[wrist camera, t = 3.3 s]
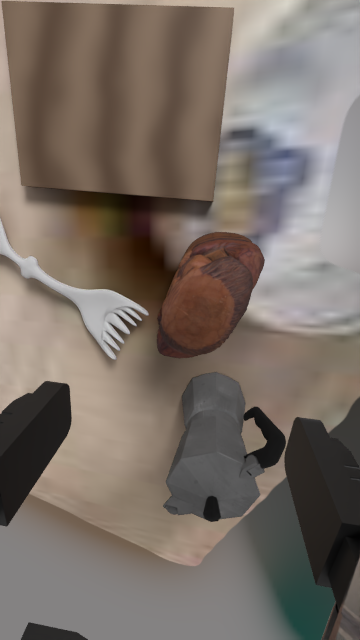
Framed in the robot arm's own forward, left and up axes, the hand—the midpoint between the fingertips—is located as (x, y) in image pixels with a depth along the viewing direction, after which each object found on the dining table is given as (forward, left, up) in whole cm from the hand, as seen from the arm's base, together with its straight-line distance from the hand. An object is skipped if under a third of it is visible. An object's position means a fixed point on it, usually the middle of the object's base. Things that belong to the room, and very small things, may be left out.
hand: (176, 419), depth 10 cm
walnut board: (+11, -16, -28) cm, 34 cm away
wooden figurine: (0, 0, -28) cm, 28 cm away
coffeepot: (-4, +18, -28) cm, 34 cm away
